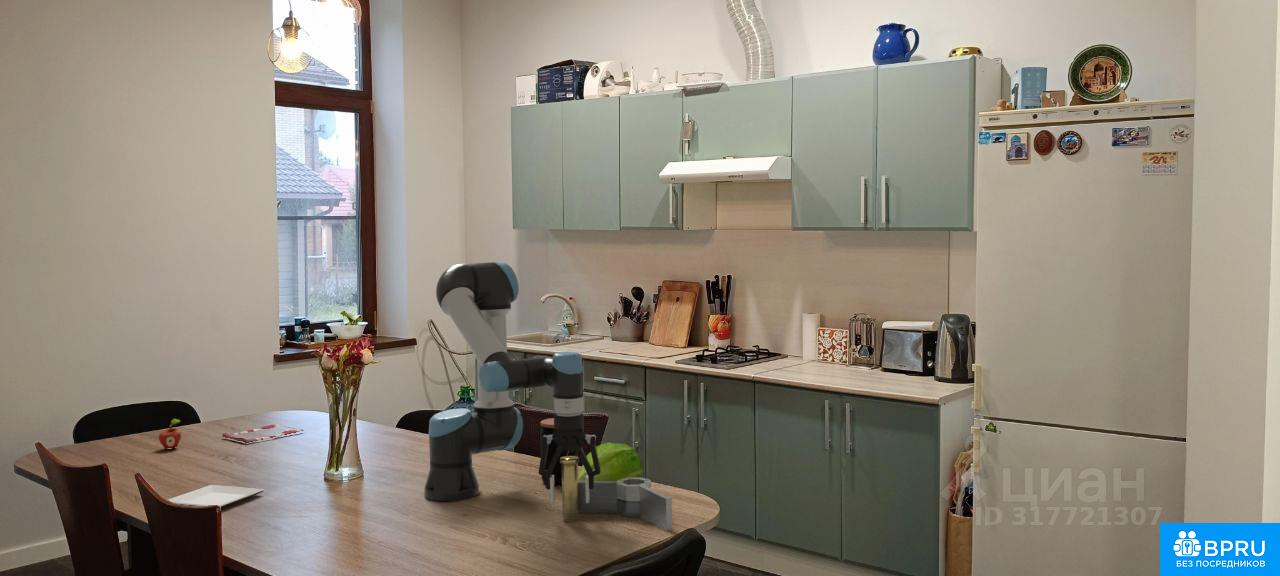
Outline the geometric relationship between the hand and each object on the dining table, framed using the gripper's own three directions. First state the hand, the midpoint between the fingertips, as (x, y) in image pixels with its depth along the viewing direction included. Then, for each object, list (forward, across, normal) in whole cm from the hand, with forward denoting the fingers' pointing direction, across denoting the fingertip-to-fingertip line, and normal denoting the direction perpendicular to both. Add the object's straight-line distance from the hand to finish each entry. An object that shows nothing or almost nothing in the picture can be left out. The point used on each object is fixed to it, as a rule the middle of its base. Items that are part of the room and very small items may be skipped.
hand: (570, 501), depth 252 cm
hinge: (+5, +12, +1) cm, 13 cm away
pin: (+5, 0, 0) cm, 5 cm away
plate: (+5, -101, +19) cm, 103 cm away
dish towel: (+6, -123, +105) cm, 162 cm away
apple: (+5, -147, +85) cm, 170 cm away
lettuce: (+5, +8, +25) cm, 27 cm away
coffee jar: (+5, -7, +38) cm, 39 cm away
